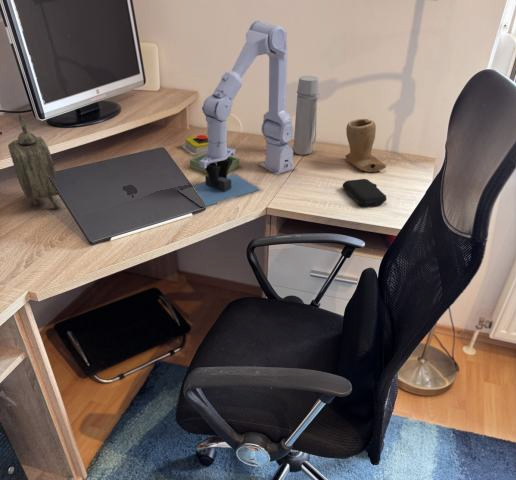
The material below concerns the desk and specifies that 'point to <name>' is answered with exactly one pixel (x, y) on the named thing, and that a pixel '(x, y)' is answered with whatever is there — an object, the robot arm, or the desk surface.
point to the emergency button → (196, 144)
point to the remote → (220, 183)
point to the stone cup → (362, 145)
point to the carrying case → (364, 192)
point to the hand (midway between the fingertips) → (218, 183)
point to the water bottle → (306, 115)
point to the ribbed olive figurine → (33, 165)
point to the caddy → (235, 163)
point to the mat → (216, 195)
